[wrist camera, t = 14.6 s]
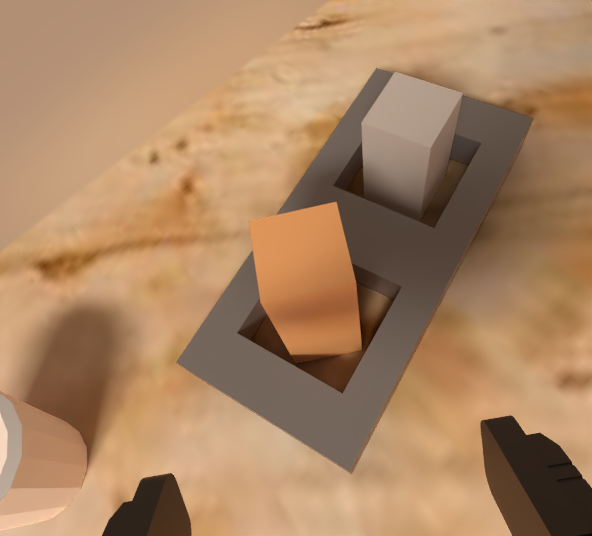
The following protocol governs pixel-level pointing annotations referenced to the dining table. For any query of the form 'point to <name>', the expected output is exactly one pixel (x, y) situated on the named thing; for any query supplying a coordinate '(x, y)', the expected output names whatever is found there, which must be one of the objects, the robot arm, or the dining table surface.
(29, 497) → the shot glass
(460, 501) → the dining table surface
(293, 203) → the grey block holder
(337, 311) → the plug
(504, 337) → the dining table surface
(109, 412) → the dining table surface
